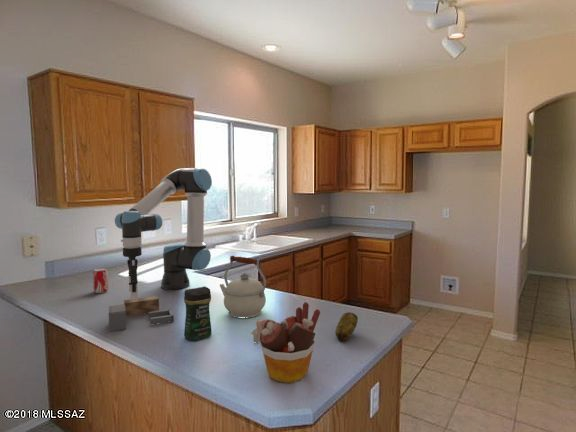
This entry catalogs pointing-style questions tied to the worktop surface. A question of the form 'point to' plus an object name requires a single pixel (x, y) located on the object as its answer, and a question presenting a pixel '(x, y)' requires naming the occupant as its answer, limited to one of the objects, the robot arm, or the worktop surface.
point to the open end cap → (161, 316)
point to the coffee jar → (197, 313)
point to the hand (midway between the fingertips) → (133, 295)
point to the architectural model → (256, 335)
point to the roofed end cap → (117, 317)
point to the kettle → (244, 292)
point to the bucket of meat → (288, 345)
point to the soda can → (100, 280)
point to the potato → (346, 326)
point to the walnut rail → (141, 305)
